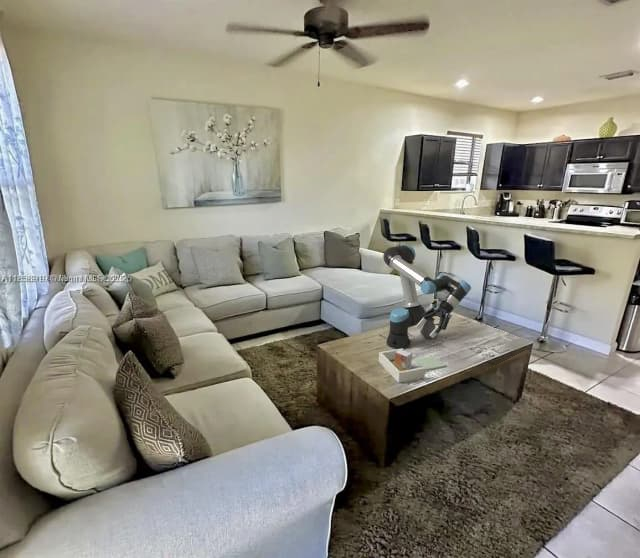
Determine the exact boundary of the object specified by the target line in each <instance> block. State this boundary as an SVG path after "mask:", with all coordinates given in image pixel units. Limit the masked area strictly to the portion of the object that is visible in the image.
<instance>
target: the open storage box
mask: <svg viewBox="0 0 640 558" xmlns="http://www.w3.org/2000/svg"><path fill="white" fill-rule="evenodd" d="M398 350H399V349H391V350H386V351H385V350H384V351H380V352H378V363H380V365H381V366H382V367H383V368H385V371H387V372H388V373H389V374H390V375H391V376H392V378H394V380H396V382H397V383H398V384H400V383H404V382H409V381H410V380H411V381H415V380H416V381H417V380H420V379H425V374H426V371H425V368H424V367H422V368H421V367H418V368H417V367H416V368H411V370H406V371H400V370H398V369H397V368H396V367H395V366H394V363H392V362H391V361H395V352H396V351H398ZM402 350H404V349H403V348H402ZM404 351H405V350H404Z"/></svg>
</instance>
